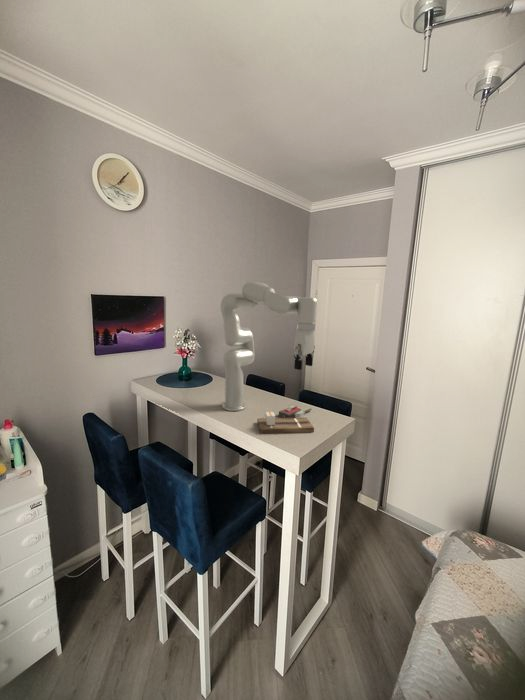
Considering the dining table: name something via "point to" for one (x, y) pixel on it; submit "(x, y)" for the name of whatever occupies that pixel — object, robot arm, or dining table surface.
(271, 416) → the fader
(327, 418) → the dining table surface
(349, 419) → the dining table surface
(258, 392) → the dining table surface
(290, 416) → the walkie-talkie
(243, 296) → the robot arm
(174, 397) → the dining table surface
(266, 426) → the brown board with strips
